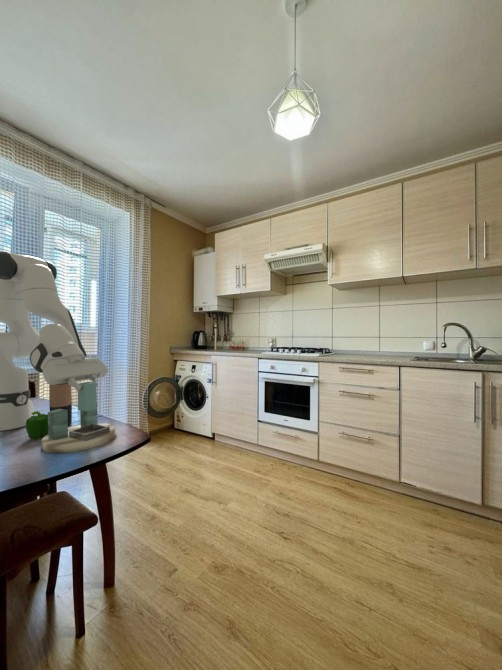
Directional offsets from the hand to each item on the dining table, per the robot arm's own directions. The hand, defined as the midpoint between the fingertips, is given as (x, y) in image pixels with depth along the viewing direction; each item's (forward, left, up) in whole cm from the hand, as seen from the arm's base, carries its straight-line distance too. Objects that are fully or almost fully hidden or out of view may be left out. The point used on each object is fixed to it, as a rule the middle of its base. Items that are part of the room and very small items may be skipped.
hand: (88, 388), depth 95 cm
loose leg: (-1, 0, -7) cm, 7 cm away
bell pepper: (-23, 0, -19) cm, 30 cm away
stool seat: (-6, +2, -19) cm, 20 cm away
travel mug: (-28, +12, -19) cm, 36 cm away
